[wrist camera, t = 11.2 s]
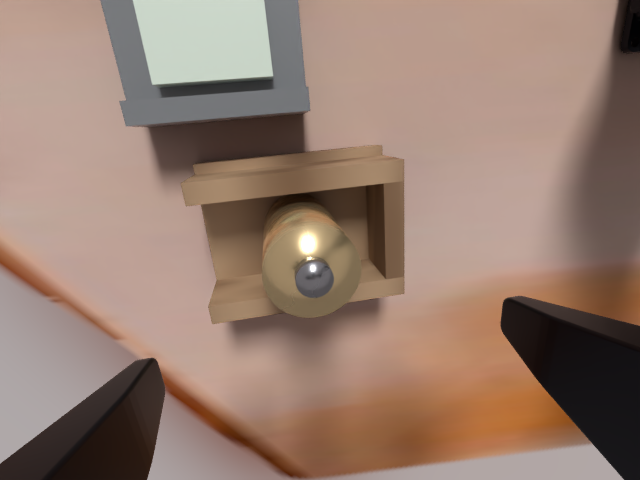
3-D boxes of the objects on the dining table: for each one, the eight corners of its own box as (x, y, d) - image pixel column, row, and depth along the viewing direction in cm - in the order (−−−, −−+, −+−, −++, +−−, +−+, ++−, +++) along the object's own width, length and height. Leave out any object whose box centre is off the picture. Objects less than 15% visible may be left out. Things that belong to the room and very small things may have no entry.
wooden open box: (376, 144, 19) (404, 148, 15) (379, 272, 21) (404, 301, 18) (196, 163, 18) (177, 171, 14) (223, 295, 20) (214, 332, 16)
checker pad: (256, -55, 14) (255, -69, 13) (272, 79, 15) (273, 76, 14) (128, -52, 13) (117, -66, 12) (159, 87, 15) (152, 84, 14)
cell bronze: (328, 189, 18) (364, 223, 11) (333, 253, 19) (367, 318, 13) (259, 197, 18) (254, 237, 11) (268, 262, 19) (269, 333, 12)
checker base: (285, -73, 15) (290, -116, 12) (303, 113, 18) (310, 110, 15) (100, -70, 14) (62, -116, 11) (147, 127, 17) (126, 126, 14)
